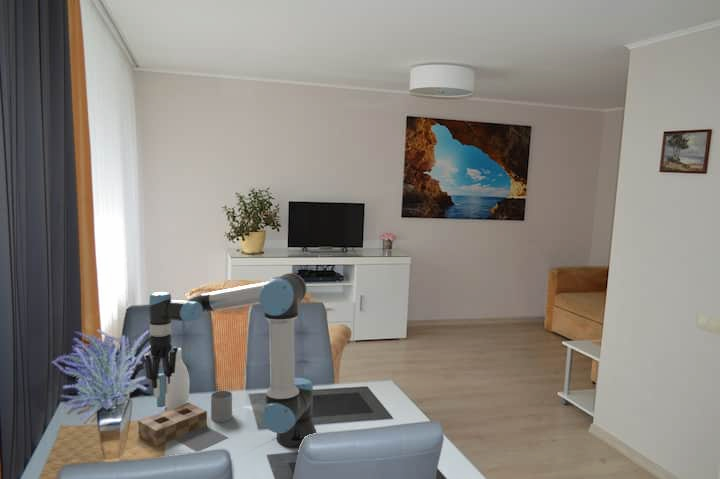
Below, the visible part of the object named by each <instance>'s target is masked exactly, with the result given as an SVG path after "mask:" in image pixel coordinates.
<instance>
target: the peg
mask: <svg viewBox="0 0 720 479" xmlns="http://www.w3.org/2000/svg"><path fill="white" fill-rule="evenodd" d="M158 379H159V380H160V396H159V397H157V396H156V406H157V408H165V374H164V373H158Z"/></svg>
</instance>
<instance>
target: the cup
mask: <svg viewBox="0 0 720 479" xmlns="http://www.w3.org/2000/svg"><path fill="white" fill-rule="evenodd" d="M210 411H211V412H210V415H211V416H210V420H212V422H216V423H224V422H229V421H230V420H232V419H233V392H231V391H229V390H217V391H214V392H212V393H211V395H210Z"/></svg>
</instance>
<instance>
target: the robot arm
mask: <svg viewBox="0 0 720 479" xmlns="http://www.w3.org/2000/svg"><path fill="white" fill-rule="evenodd" d="M306 294H307V284H306V281H305V280H304V279H303V277H302V276H300V275H299V274H296V273H292V272H289V273H284V274H283V275H280V276H279V275H278V276H275V277H272V278H271V279H270V280H269V281H264V282H257V283H252V284H246V285H242V286H236V287H235V286H234V287H231V288H226V289H225V288H224V289H220V290H214V291H203V292H200V293H198V294H195V295H194V296H191V297H188V298H186V299H173V298H172V296H171V293H170V292H168V291H157V292H152V293H151V294H150V295H149V300H148V301H149V303H148V310H149V345H151V348H150V347H149V350H148V352H147V353H143V354H144V355H143V354H142V357H143V360H144V364H145V375H146V379H148V380H150V381H151V387H152V389H153V395H154V396H156V398H157V397H159V396H160V380H159V379H158V374H159V369H160V363H161V362H162V367H163V374H165V394H168V384H170V377H171V376H172V373H174V372H175V362H176V353H177V350H178V348H179V347H176V346H174V345H173V346H172V334H171V333H172V321H180V322H186V323H196V322H198V321H200V320H201V318H202V315H203V314H205V313H210V312H216V311H221V310H222V311H223V310H226V309H233V308H240V307H247V306H253V305H257V304H259V306H260V308H261V309H262V310H263V312H264V313H263V314H264V319H265V320H267V322H268V328H269V329H268V331H269V335H268V336H269V372H270V373H269V376H270V377H269V378H270V379H269V380H270V381H269V382H270V384H269V385H270V386H269V388H268V389H266V392H265V393H266V395H265V396H266V397H265V399H266V400H265V402H266V403H265V405H264V407H263V409H262V411H261V421H262V423H263V425H264V426H265V428H267V429H268V430H269V431H271V432H272V433H276V441H277V443H278V444H279V445H281V446H284V447H287V448H295V449H297V448H300V447H299V446H300V444H301V442H302V440H303V439H304V437H305V436H307V435H309V434H313V433H316V434H317V429H316V427H315V424H314V423H315V422H314V421H313V402H314V400H313V399H314V398H313V395H314V392H313V391H314V388H313V382H312V381H311V380H310V379H306V378H304V377H296V375H295V374H296V373H295V372H296V370H295V365H296V364H295V320H296V319H297V318H298V317H299V304H300V303H301V302H302V301H303V299H304V298H305V297H306Z"/></svg>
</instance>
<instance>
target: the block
mask: <svg viewBox="0 0 720 479" xmlns="http://www.w3.org/2000/svg"><path fill="white" fill-rule="evenodd" d="M207 417H208V411H207V410H206V409H203V408H201V407H199V406H197V405H195V404H193V403H191V402H188V403H186V404H183V405H181V406H178V407H175V408H172V409H170V410H167V409H166V410H164V411H162V412H159V413H156V414H153V415H151V416H148V417H145V418H142V419H140V420H137V421H138V436H139V435H140V436H139V437H141V436H142V437H141V438H143V439H144V438H145V439H144V440H146V441H147V442H149V441H150V443H151V442H152V443H151V444H153V445H154V444H155V446H156V445H157V446H158V445H161V444H164V443H166V442H169V441H171V440H175V439H177V438H179V437H182V436H184V435H187V434H189V433H192V432H194V431H196V430H199V429H201V428H204V427H206V426H207V425H208V418H207Z"/></svg>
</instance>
